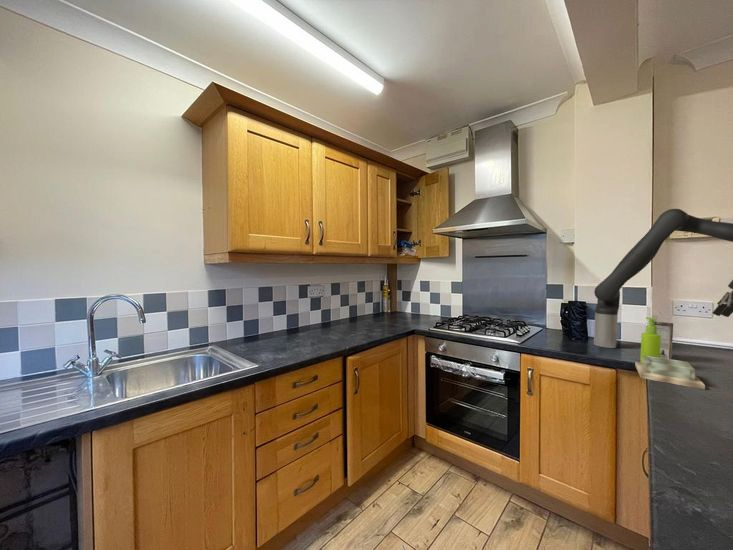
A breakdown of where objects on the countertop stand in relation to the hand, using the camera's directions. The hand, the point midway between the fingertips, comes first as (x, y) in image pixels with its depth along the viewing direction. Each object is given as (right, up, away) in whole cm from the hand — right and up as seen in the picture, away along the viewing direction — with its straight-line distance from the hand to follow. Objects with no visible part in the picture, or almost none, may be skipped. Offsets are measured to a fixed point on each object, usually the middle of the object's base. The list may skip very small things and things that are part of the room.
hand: (719, 315), depth 119 cm
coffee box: (-6, -22, +18) cm, 29 cm away
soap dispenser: (-22, -22, +7) cm, 32 cm away
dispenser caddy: (-29, -22, -7) cm, 37 cm away
